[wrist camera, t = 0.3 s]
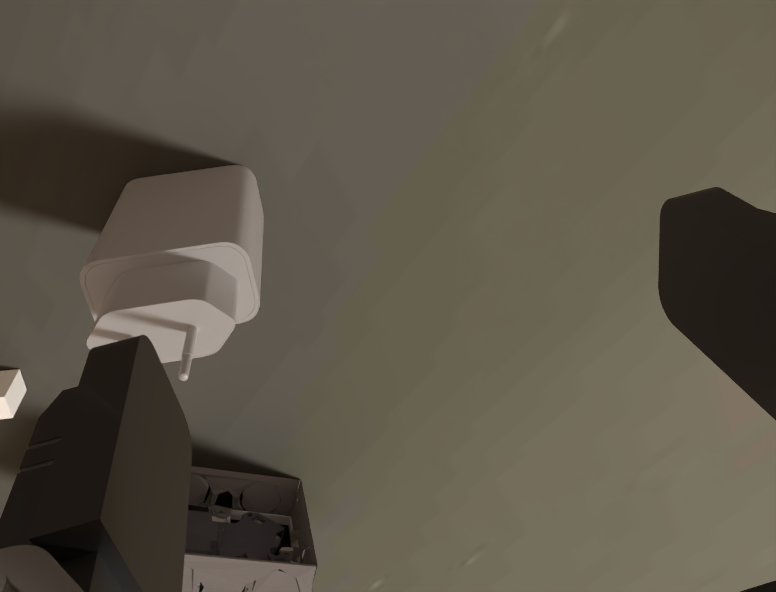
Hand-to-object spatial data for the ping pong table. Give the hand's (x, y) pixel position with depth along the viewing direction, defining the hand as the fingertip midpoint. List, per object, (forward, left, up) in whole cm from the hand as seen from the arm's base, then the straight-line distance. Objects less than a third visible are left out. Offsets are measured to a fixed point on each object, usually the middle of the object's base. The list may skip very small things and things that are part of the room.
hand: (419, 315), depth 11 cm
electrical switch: (+22, -7, -19) cm, 30 cm away
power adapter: (+6, -6, -19) cm, 21 cm away
